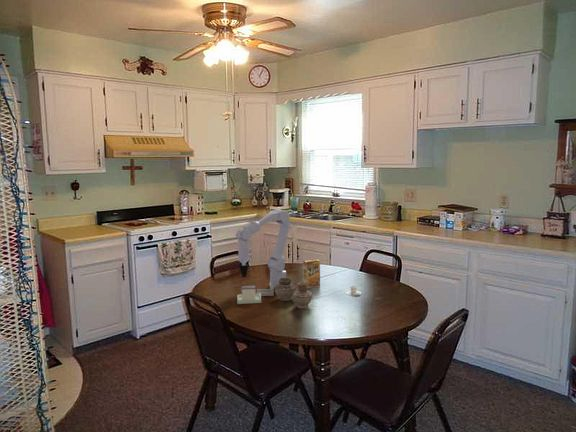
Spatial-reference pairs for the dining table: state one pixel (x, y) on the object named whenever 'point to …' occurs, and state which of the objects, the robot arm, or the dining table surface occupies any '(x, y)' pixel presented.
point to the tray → (240, 301)
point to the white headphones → (353, 291)
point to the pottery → (293, 292)
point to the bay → (266, 291)
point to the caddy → (248, 292)
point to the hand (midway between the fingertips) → (244, 275)
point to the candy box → (311, 272)
